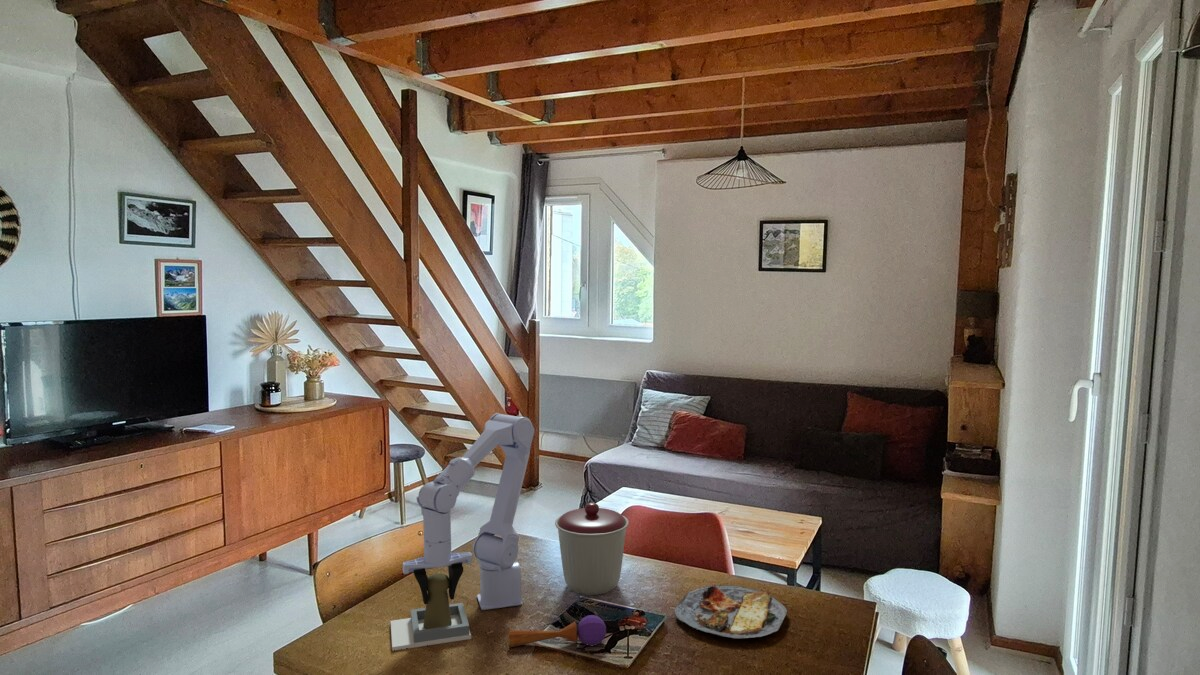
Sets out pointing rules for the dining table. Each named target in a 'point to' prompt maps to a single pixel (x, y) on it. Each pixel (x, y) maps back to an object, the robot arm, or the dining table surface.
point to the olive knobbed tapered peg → (437, 602)
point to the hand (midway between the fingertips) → (438, 599)
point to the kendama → (564, 633)
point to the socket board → (415, 635)
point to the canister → (591, 548)
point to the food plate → (717, 604)
